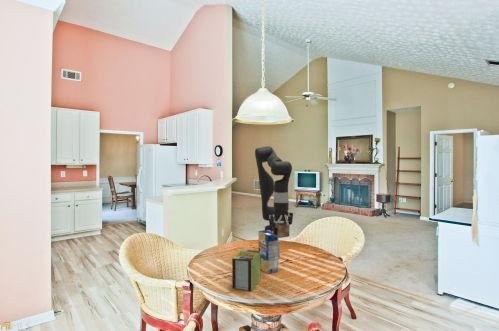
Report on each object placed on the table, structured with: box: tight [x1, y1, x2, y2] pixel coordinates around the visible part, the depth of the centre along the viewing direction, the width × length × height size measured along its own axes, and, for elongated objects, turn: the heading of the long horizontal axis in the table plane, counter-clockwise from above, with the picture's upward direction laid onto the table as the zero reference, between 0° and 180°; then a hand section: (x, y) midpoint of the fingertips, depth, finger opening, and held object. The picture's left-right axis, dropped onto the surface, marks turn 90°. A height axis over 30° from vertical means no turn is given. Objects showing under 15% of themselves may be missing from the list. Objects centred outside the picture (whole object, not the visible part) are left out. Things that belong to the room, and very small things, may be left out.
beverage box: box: [257, 229, 279, 275], centre depth 165 cm, size 7×11×22 cm, turn 29°
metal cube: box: [273, 221, 290, 239], centre depth 142 cm, size 6×6×6 cm
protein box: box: [231, 248, 261, 292], centre depth 147 cm, size 10×15×16 cm
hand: (280, 233), depth 142 cm, fingers closed on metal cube, 6 cm apart
